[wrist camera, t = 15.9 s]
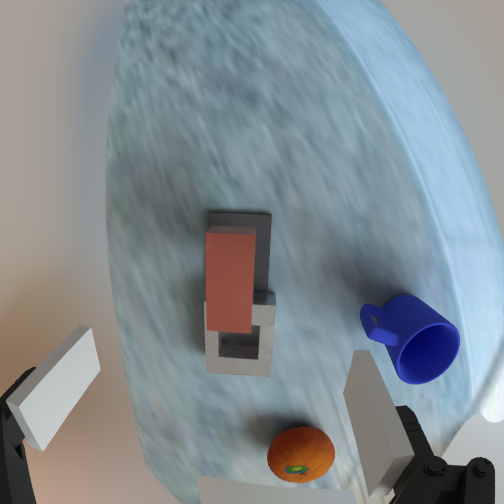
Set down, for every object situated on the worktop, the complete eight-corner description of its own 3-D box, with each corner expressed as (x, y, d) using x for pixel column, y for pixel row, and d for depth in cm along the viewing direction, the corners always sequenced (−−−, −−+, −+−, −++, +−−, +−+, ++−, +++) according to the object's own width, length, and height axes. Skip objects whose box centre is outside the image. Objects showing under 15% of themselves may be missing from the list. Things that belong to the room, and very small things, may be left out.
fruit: (337, 445, 45) (344, 479, 38) (280, 460, 47) (281, 495, 39) (320, 408, 43) (327, 446, 35) (257, 426, 45) (255, 464, 37)
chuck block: (209, 289, 38) (204, 301, 35) (275, 293, 38) (275, 305, 35) (210, 357, 41) (206, 372, 38) (270, 361, 41) (269, 376, 37)
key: (221, 288, 38) (206, 330, 28) (222, 213, 35) (205, 232, 26) (254, 290, 38) (250, 333, 28) (258, 214, 35) (255, 235, 25)
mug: (364, 267, 37) (393, 300, 27) (435, 297, 37) (472, 332, 28) (335, 323, 39) (352, 369, 29) (406, 347, 40) (433, 390, 30)
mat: (209, 211, 36) (208, 212, 35) (271, 214, 36) (271, 215, 35) (209, 285, 38) (208, 287, 38) (267, 289, 38) (267, 291, 37)
